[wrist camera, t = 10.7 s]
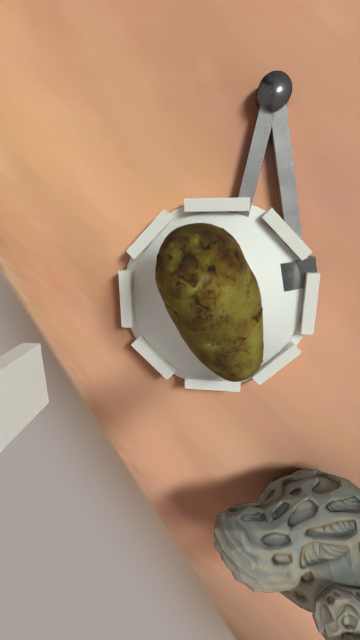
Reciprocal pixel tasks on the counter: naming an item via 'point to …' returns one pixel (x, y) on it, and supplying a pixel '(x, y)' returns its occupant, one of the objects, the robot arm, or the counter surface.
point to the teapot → (300, 547)
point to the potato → (212, 299)
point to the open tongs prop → (276, 160)
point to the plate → (264, 260)
